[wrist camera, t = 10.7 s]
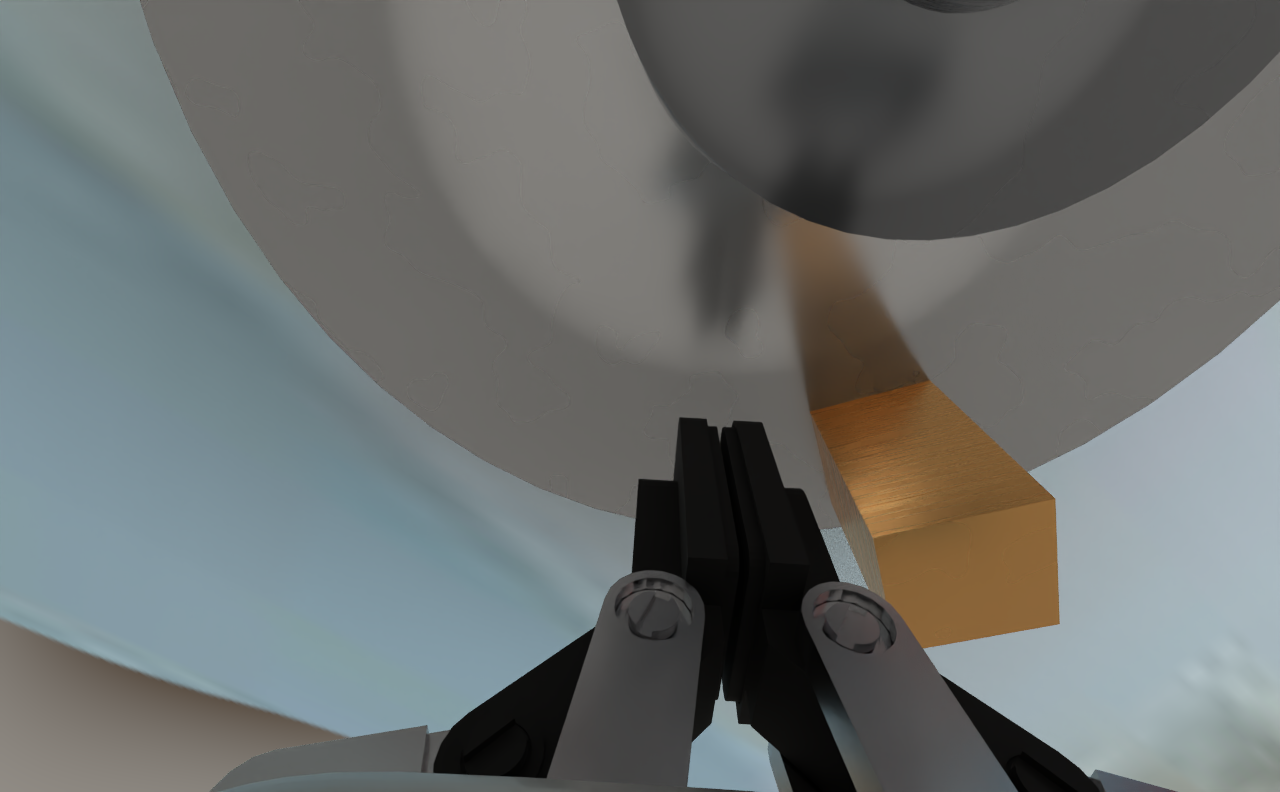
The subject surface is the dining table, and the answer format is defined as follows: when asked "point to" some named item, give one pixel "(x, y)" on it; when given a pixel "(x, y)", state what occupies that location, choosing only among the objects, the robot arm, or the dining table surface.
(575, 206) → the turntable
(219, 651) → the dining table surface
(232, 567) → the dining table surface
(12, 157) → the dining table surface
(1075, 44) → the cover
